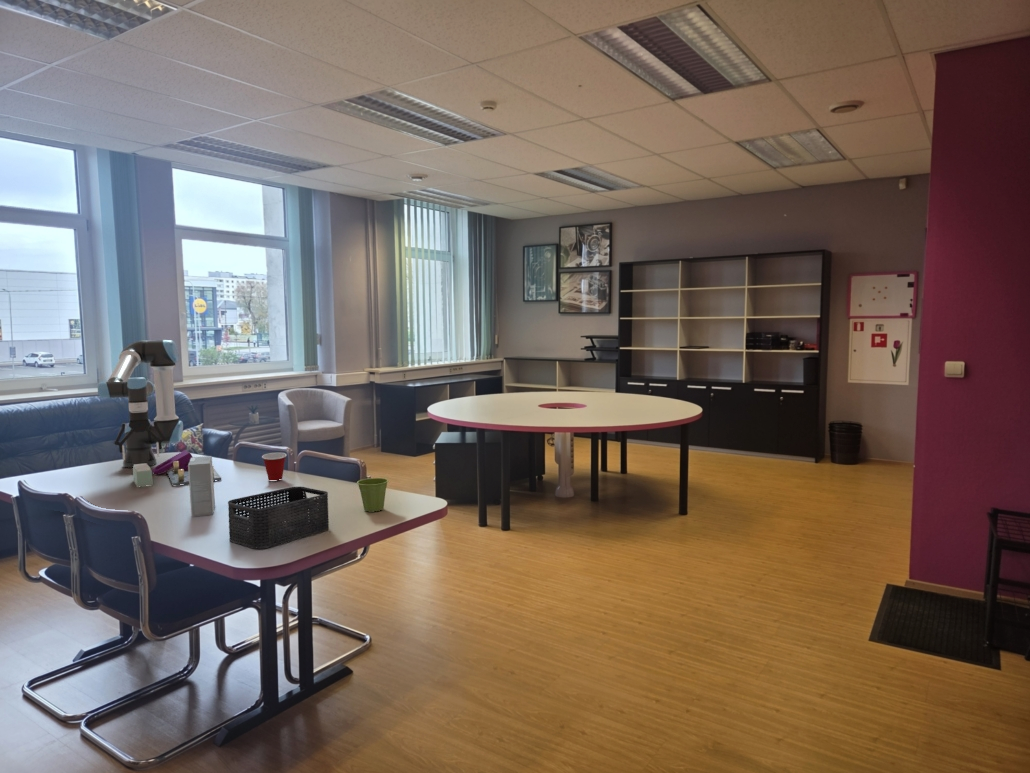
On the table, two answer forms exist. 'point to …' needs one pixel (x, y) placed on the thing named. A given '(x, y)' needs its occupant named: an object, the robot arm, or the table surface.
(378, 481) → the plant pot
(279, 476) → the plastic cup
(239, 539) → the storage bin
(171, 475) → the chassis plate
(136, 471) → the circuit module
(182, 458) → the mounting bracket
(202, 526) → the table surface
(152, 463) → the robot arm
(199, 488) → the hard drive box
